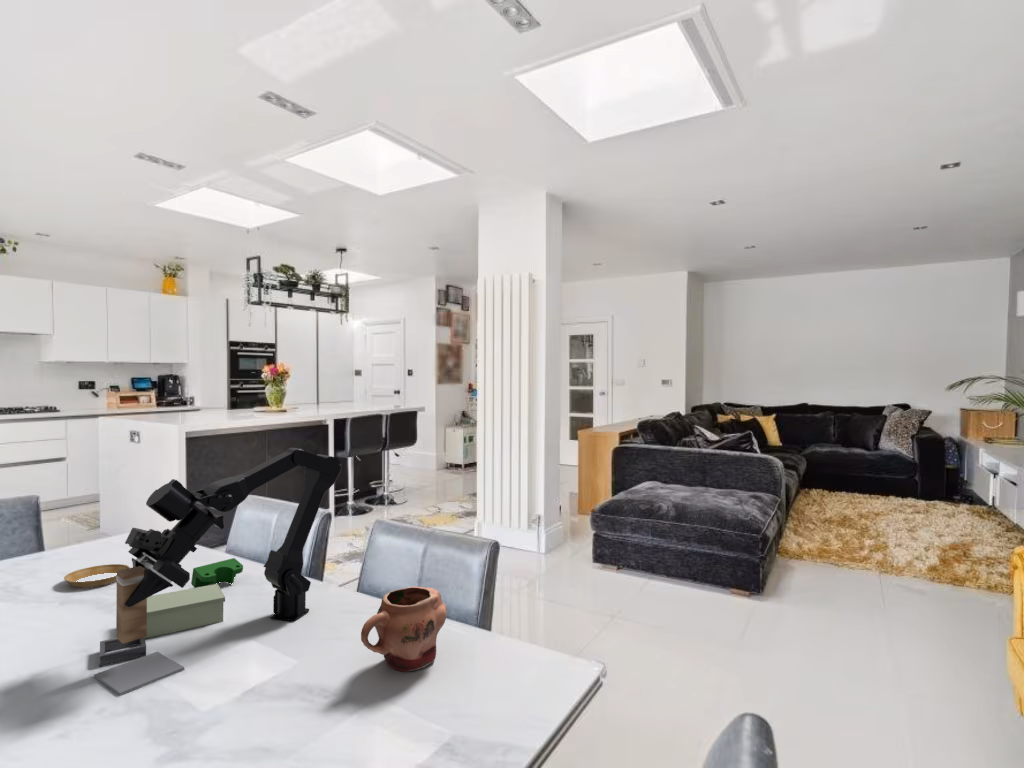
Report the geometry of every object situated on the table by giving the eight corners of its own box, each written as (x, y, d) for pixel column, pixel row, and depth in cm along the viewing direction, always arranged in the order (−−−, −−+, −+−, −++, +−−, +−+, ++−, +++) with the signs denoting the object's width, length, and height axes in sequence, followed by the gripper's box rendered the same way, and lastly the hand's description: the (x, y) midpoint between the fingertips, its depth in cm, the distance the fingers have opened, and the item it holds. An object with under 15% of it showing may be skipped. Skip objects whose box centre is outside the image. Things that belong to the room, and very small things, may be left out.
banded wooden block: (140, 630, 112) (140, 565, 112) (147, 636, 110) (147, 570, 110) (115, 637, 109) (116, 570, 109) (122, 643, 107) (122, 575, 106)
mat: (157, 653, 115) (157, 651, 115) (184, 669, 109) (184, 667, 109) (94, 677, 106) (94, 674, 106) (119, 695, 99) (119, 692, 99)
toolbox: (217, 606, 139) (217, 583, 139) (224, 621, 131) (225, 597, 130) (136, 622, 129) (136, 598, 129) (138, 640, 121) (139, 614, 121)
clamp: (207, 607, 149) (197, 582, 145) (196, 596, 153) (186, 572, 149) (249, 579, 158) (241, 555, 153) (238, 570, 161) (230, 546, 157)
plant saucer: (73, 576, 159) (73, 567, 159) (134, 570, 165) (134, 561, 165) (55, 595, 146) (55, 585, 146) (123, 586, 152) (123, 577, 152)
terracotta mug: (386, 697, 100) (387, 619, 100) (343, 675, 107) (344, 602, 107) (461, 654, 116) (461, 587, 116) (419, 637, 123) (420, 574, 123)
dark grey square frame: (143, 641, 120) (143, 632, 120) (146, 655, 114) (146, 646, 114) (99, 651, 115) (99, 641, 115) (99, 666, 109) (99, 656, 109)
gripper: (140, 504, 118) (74, 569, 110) (172, 519, 106) (101, 594, 98) (181, 534, 124) (122, 598, 116) (215, 551, 112) (152, 624, 104)
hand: (123, 602), depth 108 cm, fingers closed on banded wooden block, 4 cm apart
